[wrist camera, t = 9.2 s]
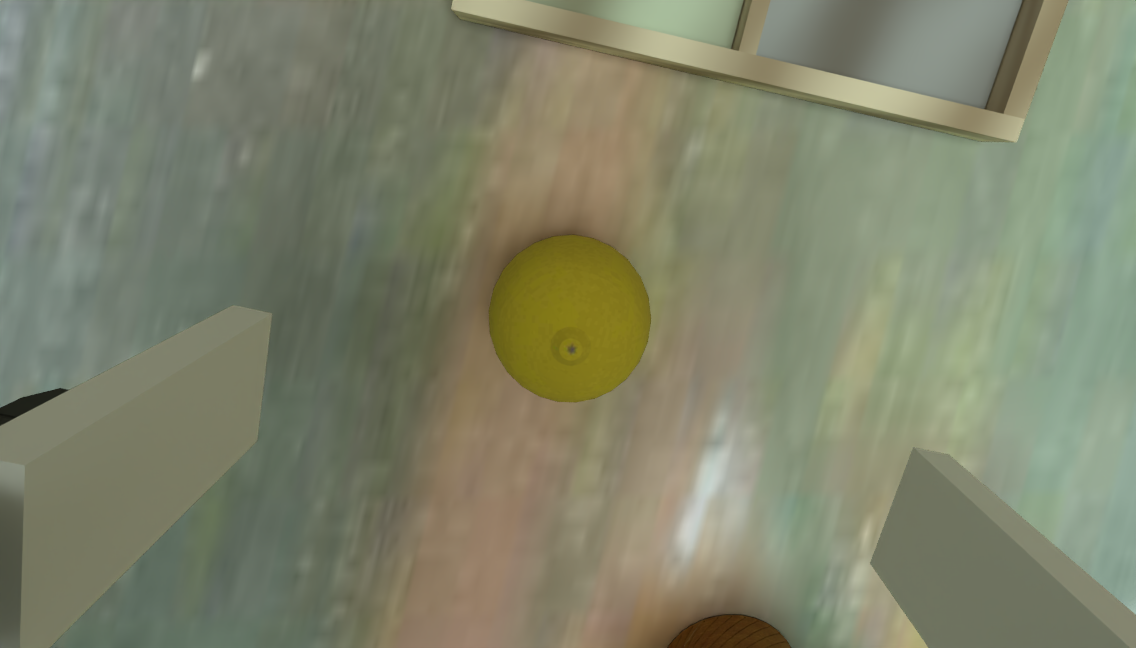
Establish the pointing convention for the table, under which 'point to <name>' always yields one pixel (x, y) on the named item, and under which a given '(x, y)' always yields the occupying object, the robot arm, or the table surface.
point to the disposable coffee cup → (730, 634)
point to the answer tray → (825, 50)
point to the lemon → (569, 318)
